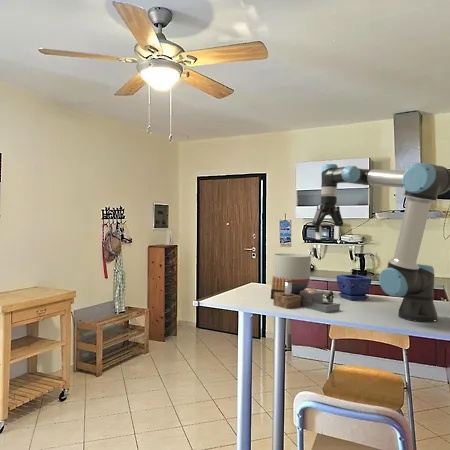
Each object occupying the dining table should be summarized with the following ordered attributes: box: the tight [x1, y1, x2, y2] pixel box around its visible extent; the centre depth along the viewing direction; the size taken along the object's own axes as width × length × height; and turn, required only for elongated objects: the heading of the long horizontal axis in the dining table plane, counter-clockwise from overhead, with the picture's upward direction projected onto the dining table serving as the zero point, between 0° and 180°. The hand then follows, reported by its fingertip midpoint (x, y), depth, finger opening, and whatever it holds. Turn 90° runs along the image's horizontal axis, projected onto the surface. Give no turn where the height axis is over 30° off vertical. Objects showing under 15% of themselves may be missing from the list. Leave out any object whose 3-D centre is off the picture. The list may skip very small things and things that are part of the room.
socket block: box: [299, 289, 341, 314], centre depth 188 cm, size 18×9×7 cm, turn 35°
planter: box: [273, 252, 312, 295], centre depth 225 cm, size 20×20×21 cm
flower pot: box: [336, 274, 372, 301], centre depth 214 cm, size 13×13×12 cm
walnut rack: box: [272, 293, 301, 310], centre depth 191 cm, size 9×9×5 cm
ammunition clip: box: [270, 275, 291, 300], centre depth 206 cm, size 11×2×12 cm, turn 65°
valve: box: [308, 287, 335, 303], centre depth 201 cm, size 7×7×12 cm
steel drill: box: [285, 280, 292, 297], centre depth 192 cm, size 3×3×12 cm
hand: (327, 239), depth 199 cm, fingers open, 13 cm apart
